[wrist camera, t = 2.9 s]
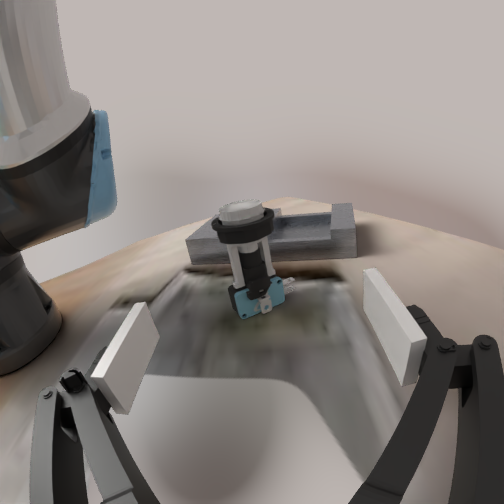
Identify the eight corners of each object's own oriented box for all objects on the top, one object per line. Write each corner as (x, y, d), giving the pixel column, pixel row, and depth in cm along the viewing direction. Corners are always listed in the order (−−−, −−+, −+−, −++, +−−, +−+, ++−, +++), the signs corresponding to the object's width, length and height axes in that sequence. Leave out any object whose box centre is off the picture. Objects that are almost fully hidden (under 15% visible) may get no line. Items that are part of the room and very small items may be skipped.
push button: (281, 282, 32) (267, 191, 28) (310, 302, 27) (298, 197, 23) (225, 305, 29) (201, 209, 26) (246, 331, 25) (220, 220, 21)
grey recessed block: (192, 264, 41) (185, 239, 39) (220, 235, 50) (215, 214, 49) (356, 257, 34) (355, 228, 32) (353, 226, 43) (351, 203, 42)
